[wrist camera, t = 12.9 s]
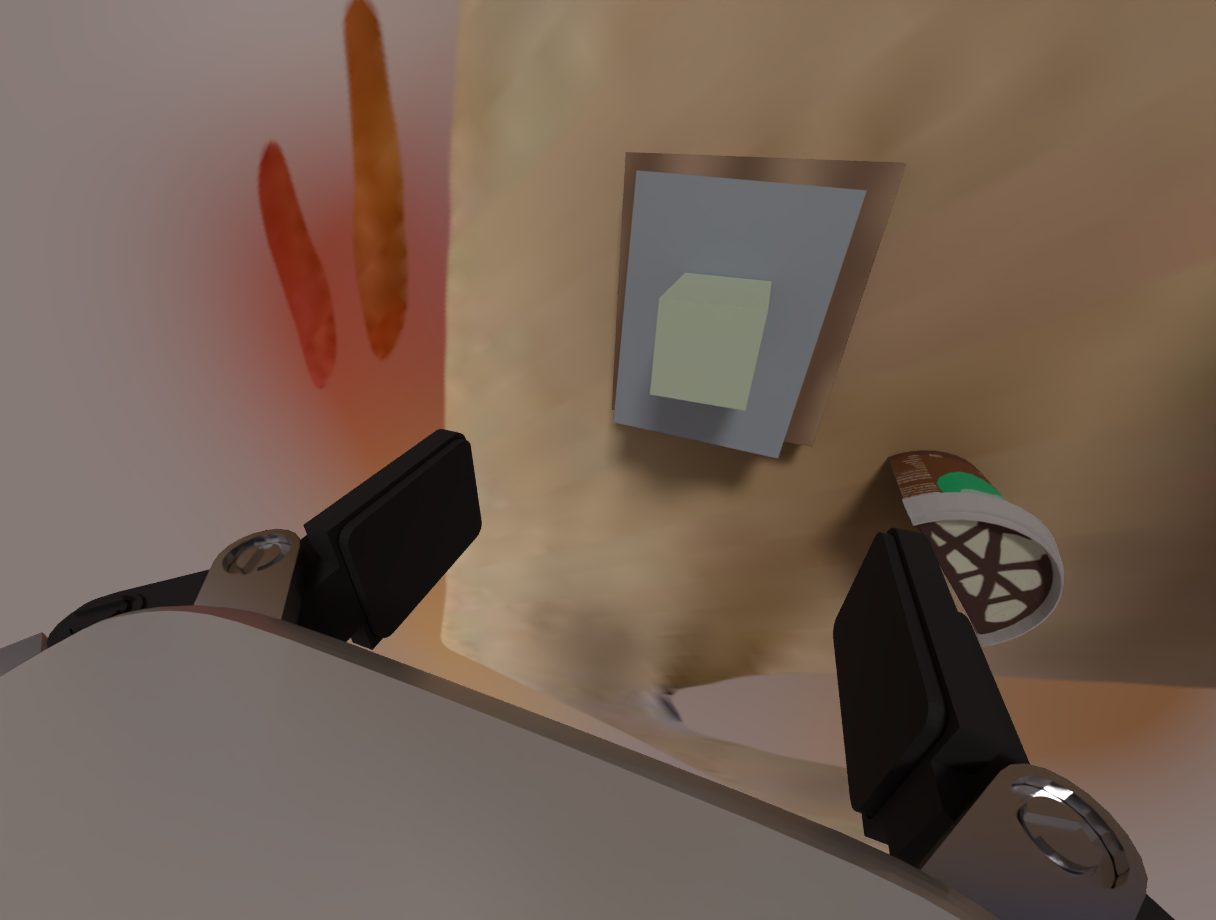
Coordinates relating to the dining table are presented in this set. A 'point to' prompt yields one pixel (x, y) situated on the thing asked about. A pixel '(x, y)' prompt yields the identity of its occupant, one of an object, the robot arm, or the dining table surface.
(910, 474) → the food container
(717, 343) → the sage block
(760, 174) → the base block
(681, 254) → the top block
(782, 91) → the dining table surface
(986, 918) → the robot arm
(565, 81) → the dining table surface
